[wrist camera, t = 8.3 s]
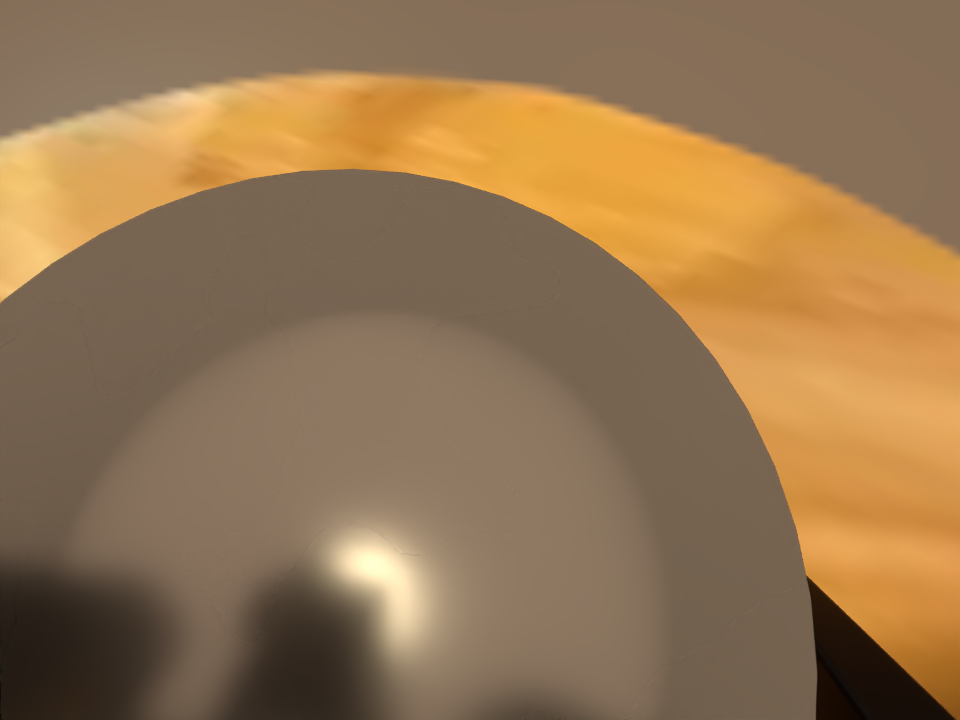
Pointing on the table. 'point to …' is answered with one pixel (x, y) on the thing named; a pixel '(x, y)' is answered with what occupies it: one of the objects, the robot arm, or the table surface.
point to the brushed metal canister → (380, 475)
